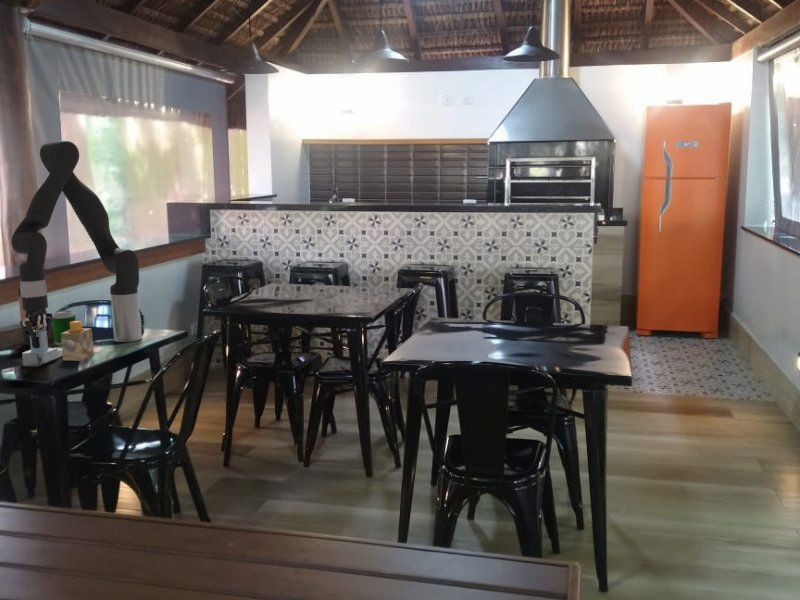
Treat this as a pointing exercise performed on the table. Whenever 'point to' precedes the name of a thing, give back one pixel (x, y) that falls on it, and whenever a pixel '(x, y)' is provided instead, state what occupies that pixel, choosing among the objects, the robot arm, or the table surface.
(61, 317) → the soda can
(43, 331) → the carriage
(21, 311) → the travel mug
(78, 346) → the open wooden box
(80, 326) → the orange rounded piece
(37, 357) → the rail
